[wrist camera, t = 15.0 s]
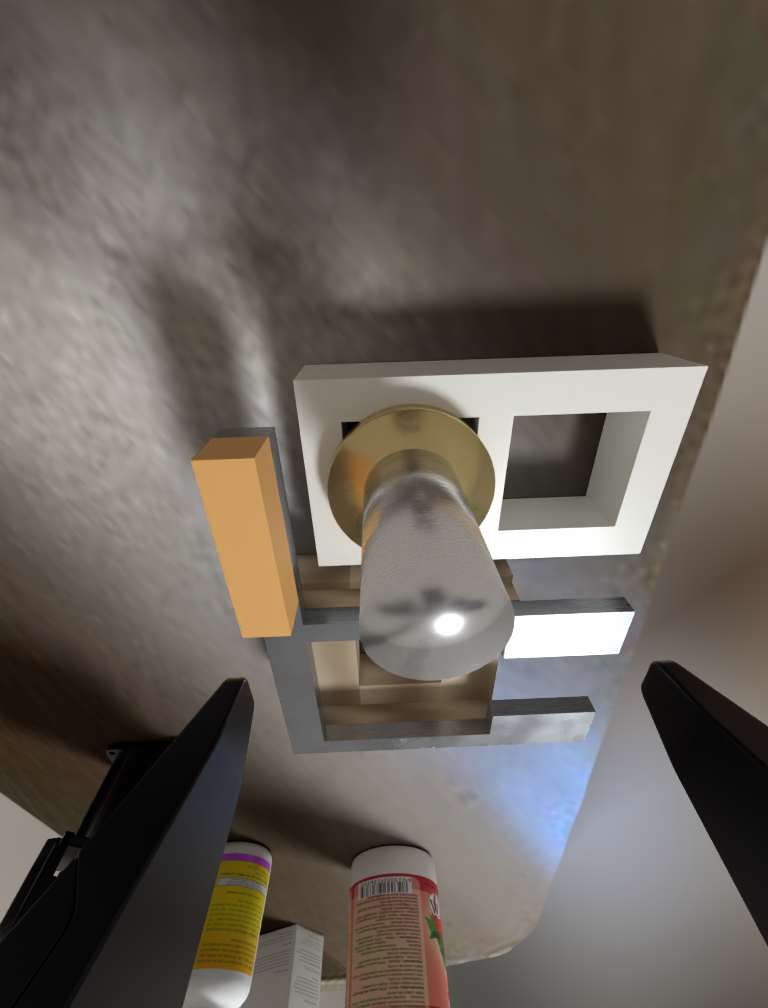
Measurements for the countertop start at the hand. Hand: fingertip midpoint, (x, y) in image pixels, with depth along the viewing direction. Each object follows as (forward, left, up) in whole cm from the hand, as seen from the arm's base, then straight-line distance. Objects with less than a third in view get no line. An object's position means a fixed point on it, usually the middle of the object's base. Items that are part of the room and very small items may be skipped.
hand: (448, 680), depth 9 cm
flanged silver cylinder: (0, 0, -13) cm, 13 cm away
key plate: (+2, -7, -9) cm, 12 cm away
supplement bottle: (-18, -45, -13) cm, 50 cm away
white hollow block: (+3, 0, -13) cm, 13 cm away
